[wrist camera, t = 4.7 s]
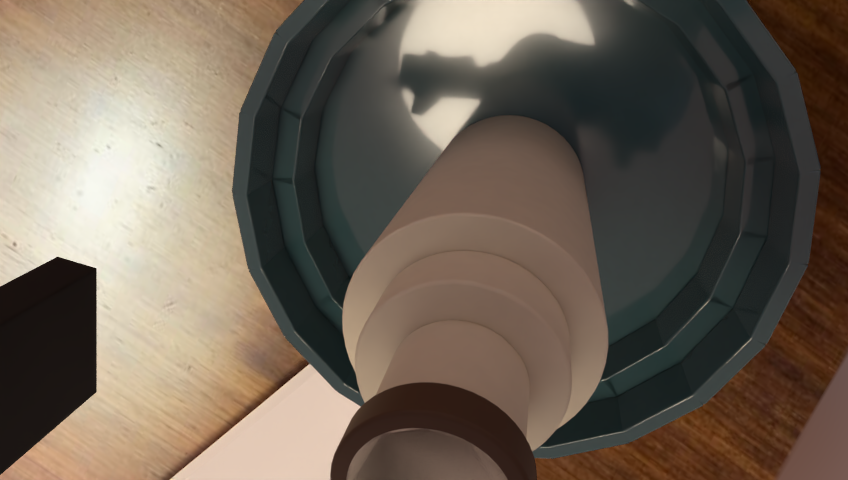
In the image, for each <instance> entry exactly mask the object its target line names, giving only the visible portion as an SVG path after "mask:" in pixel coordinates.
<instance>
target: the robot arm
mask: <svg viewBox="0 0 848 480" xmlns="http://www.w3.org/2000/svg"><path fill="white" fill-rule="evenodd" d="M95 393H96V268H93V267H90V266H86V265H83V264H80V263H76V262H73V261H70V260H66V259H63V258H60V257H56V258H54V259H53V260H51V261H49V262H47V263H45V264H43V265H41V266H39V267H37V268H35V269H33V270H31V271H29V272H28V273H26V274H24V275H22V276H20V277H18V278H16V279H14V280H12V281H10V282H8V283H6V284H4V285H2V286H1V287H0V475H1V474H2V473H3V472H4V471H5V470H6V469H8V468H9V467H10V466H11V465H12V464H13V463H14V462H16V461H17V460H18V459H19V458H20V457H21V456H23V455H24V454H25V453H26V452H27V451H28V450H30V449H31V448H32V447H33V446H34V445H35V444H37V443H38V442H39V441H40V440H41V439H42V438H44V437H45V436H46V435H47V434H48V433H49V432H50V431H52V430H53V429H54V428H55V427H56V426H57V425H59V424H60V423H61V422H62V421H63V420H64V419H66V418H67V417H68V416H69V415H70V414H71V413H73V412H74V411H75V410H76V409H77V408H78V407H79V406H81V405H82V404H83V403H84V402H85V401H86V400H88V399H89V398H90V397H91V396H92V395H93V394H95Z"/></svg>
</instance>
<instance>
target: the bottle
mask: <svg viewBox="0 0 848 480" xmlns="http://www.w3.org/2000/svg"><path fill="white" fill-rule="evenodd" d="M342 324H343V335H344V341H345V347H346V350H347V353H348V356H349V359H350V362H351V364H352V366H353V368H354V371H355V373H356V378H357V384H358V387H359V390H360V393H361V396H362V398H363V400H364V402H365V403H364V404H363V405H362V406H361V407H360V408H359V409H358V410H357V412H356V413H355V414H354V416H353V417H352V419H351V421H350V423H349V425H348V427H347V429H346V431H345V433H344V435H343V437H342V439H341V441H340V443H339V445H338V447H337V449H336V451H335V453H334V457H333V460H332V463H331V472H330V479H331V480H537V474H536V464H535V459H534V455H533V453H532V451H534V450H536V449H537V448H538V447H539V446H541V445H542V444H543V443H544V442H546V440H547V439H548V438H549V437H550V436H551V435H552V434H553V433H554V432H555V430H556V429H558V428H559V427H561V426H563V425H564V424H565V423H566V422H568V421H569V420H570V419H571V418H573V417H574V416H575V415H576V414H577V413H578V412H579V411H580V410H581V409H582V408H583V406H584V405H585V404H586V403H587V401H588V400H589V399H590V397H591V396H592V394H593V393H594V391H595V389H596V387H597V385H598V383H599V381H600V379H601V377H602V374H603V371H604V367H605V364H606V359H607V352H608V327H607V321H606V314H605V308H604V302H603V295H602V289H601V283H600V276H599V270H598V264H597V257H596V251H595V245H594V239H593V232H592V226H591V220H590V213H589V207H588V201H587V194H586V188H585V182H584V176H583V171H582V167H581V164H580V161H579V159H578V157H577V155H576V153H575V152H574V150H573V149H572V147H571V145H570V144H569V143H568V142H567V141H566V140H565V139H564V137H562V136H561V135H560V134H559V133H558V132H557V131H555V130H554V129H552V128H551V127H549V126H548V125H546V124H544V123H542V122H540V121H537V120H534V119H531V118H528V117H523V116H515V115H503V116H495V117H490V118H486V119H484V120H481V121H478V122H476V123H474V124H472V125H470V126H469V127H467V128H466V129H464V130H463V131H461V132H460V133H459V134H458V135H457V136H456V137H455V138H454V139H453V140H452V141H451V142H450V143H449V145H448V146H447V147H446V149H445V150H444V151H443V153H442V154H441V155H440V157H439V158H438V159H437V161H436V162H435V163H434V165H433V166H432V167H431V169H430V170H429V171H428V173H427V174H426V175H425V177H424V178H423V179H422V181H421V182H420V183H419V185H418V186H417V187H416V189H415V190H414V191H413V193H412V194H411V195H410V197H409V198H408V199H407V201H406V202H405V203H404V204H403V206H402V207H401V208H400V210H399V211H398V212H397V214H396V215H395V216H394V218H393V219H392V220H391V222H390V223H389V224H388V226H387V227H386V228H385V230H384V231H383V232H382V234H381V235H380V236H379V238H378V239H377V240H376V242H375V243H374V244H373V246H372V247H371V248H370V250H369V251H368V252H367V254H366V255H365V256H364V258H363V259H362V261H361V262H360V264H359V265H358V267H357V269H356V270H355V272H354V273H353V276H352V278H351V280H350V283H349V285H348V288H347V291H346V295H345V299H344V305H343V314H342Z"/></svg>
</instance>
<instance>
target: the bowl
mask: <svg viewBox="0 0 848 480" xmlns="http://www.w3.org/2000/svg"><path fill="white" fill-rule="evenodd" d="M503 115H515V116H523V117H528V118H531V119H534V120H537V121H540V122H542V123H544V124H546V125H548V126H549V127H551V128H552V129H554V130H555V131H557V132H558V133H559V134H560V135H561V136H562V137H564V139H565V140H566V141H567V142H568V143H569V144H570V145H571V147H572V149H573V150H574V152H575V153H576V155H577V157H578V159H579V161H580V164H581V167H582V171H583V176H584V182H585V188H586V194H587V201H588V207H589V213H590V220H591V226H592V232H593V239H594V245H595V251H596V257H597V264H598V270H599V276H600V283H601V289H602V295H603V302H604V308H605V314H606V321H607V327H608V352H607V359H606V364H605V367H604V371H603V374H602V377H601V379H600V381H599V383H598V385H597V387H596V389H595V391H594V393H593V394H592V396H591V397H590V399H589V400H588V401H587V403H586V404H585V405H584V406H583V408H582V409H581V410H580V411H579V412H578V413H577V414H576V415H575V416H574V417H573V418H571V419H570V420H569V421H568V422H566V423H565V424H564V425H563V426H561V427H559V428H558V429H556V430H555V432H554V433H553V434H552V435H551V436H550V437H549V438H548V439H547V440H546V442H544V443H543V444H542V445H541V446H539V447H538V448H537V449H536V450H534V451H532V453H533V455H534V458H547V459H550V458H551V459H554V458H558V457H563V456H568V455H573V454H578V453H583V452H588V451H593V450H598V449H603V448H608V447H613V446H618V445H623V444H628V443H630V442H632V441H634V440H636V439H638V438H640V437H642V436H644V435H646V434H648V433H650V432H652V431H654V430H656V429H658V428H660V427H662V426H664V425H666V424H668V423H670V422H672V421H674V420H676V419H677V418H679V417H681V416H683V415H685V414H687V413H689V412H691V411H693V410H695V409H697V408H699V407H701V406H703V404H706V403H707V402H708V401H709V400H710V399H711V398H712V397H713V396H714V395H715V394H716V393H717V392H718V391H719V390H720V389H721V388H722V387H723V386H724V385H725V384H726V383H727V382H728V381H729V380H731V379H732V378H733V377H734V376H735V375H736V374H737V373H738V372H739V371H740V370H741V369H742V368H743V367H744V366H745V365H746V364H747V363H748V362H749V361H750V360H751V359H752V358H753V357H754V356H755V355H756V354H758V353H759V352H760V351H761V350H762V349H763V348H764V347H765V345H766V344H767V343H768V341H769V339H770V337H771V335H772V333H773V331H774V330H775V328H776V326H777V324H778V322H779V320H780V318H781V316H782V314H783V312H784V310H785V308H786V307H787V305H788V303H789V301H790V299H791V297H792V295H793V293H794V291H795V289H796V287H797V286H798V284H799V282H800V280H801V278H802V276H803V274H804V272H805V270H806V268H807V266H808V263H809V257H810V250H811V242H812V234H813V227H814V219H815V212H816V204H817V196H818V189H819V181H820V173H821V171H820V169H821V166H820V162H819V158H818V154H817V150H816V146H815V142H814V138H813V134H812V130H811V126H810V122H809V117H808V113H807V109H806V105H805V101H804V97H803V93H802V89H801V85H800V81H799V77H798V73H797V72H796V69H795V68H794V66H793V65H792V63H791V62H790V61H789V59H788V58H787V56H786V55H785V54H784V52H783V51H782V49H781V48H780V47H779V45H778V44H777V42H776V41H775V40H774V38H773V37H772V35H771V34H770V33H769V31H768V30H767V28H766V27H765V25H764V24H763V23H762V21H761V20H760V18H759V17H758V16H757V14H756V13H755V11H754V10H753V9H752V7H751V6H750V4H749V3H748V2H747V0H303V2H302V3H301V4H300V5H299V6H298V7H297V8H296V9H295V10H294V11H293V12H292V13H291V15H290V16H289V17H288V18H287V19H286V20H285V21H284V22H283V23H282V24H281V25H280V26H279V28H278V29H277V30H276V32H275V33H274V35H273V37H272V39H271V42H270V44H269V46H268V48H267V51H266V53H265V55H264V58H263V60H262V62H261V64H260V67H259V69H258V71H257V74H256V76H255V78H254V80H253V83H252V85H251V87H250V89H249V92H248V94H247V96H246V99H245V101H244V103H243V105H242V108H241V112H240V113H239V124H238V135H237V145H236V156H235V167H234V177H233V188H232V193H233V200H234V204H235V209H236V214H237V218H238V223H239V228H240V233H241V237H242V242H243V247H244V252H245V256H246V261H247V266H248V269H249V272H250V274H251V276H252V277H253V279H254V281H255V283H256V285H257V287H258V289H259V291H260V292H261V294H262V296H263V298H264V300H265V302H266V304H267V305H268V307H269V309H270V311H271V313H272V315H273V317H274V318H275V320H276V322H277V324H278V326H279V328H280V330H281V332H282V333H283V335H284V336H285V338H286V339H287V340H288V341H289V342H290V343H291V344H292V345H293V347H294V348H295V349H296V350H297V351H298V352H299V353H300V354H301V355H302V356H303V357H304V358H305V359H306V360H307V361H308V362H309V363H310V364H311V365H312V366H313V368H314V369H315V370H316V371H317V372H318V373H319V374H320V375H321V376H322V377H323V378H324V379H325V380H326V381H327V382H328V383H329V384H330V385H331V386H332V388H333V389H334V390H336V391H337V392H338V393H339V394H341V395H343V396H344V397H346V398H348V399H349V400H351V401H352V402H354V403H356V404H357V405H359V406H360V407H361V406H362V405H363V404H364V403H365V402H364V400H363V398H362V396H361V393H360V390H359V387H358V384H357V378H356V373H355V371H354V368H353V366H352V364H351V362H350V359H349V356H348V353H347V350H346V347H345V341H344V335H343V324H342V314H343V305H344V299H345V295H346V291H347V288H348V285H349V283H350V280H351V278H352V276H353V273H354V272H355V270H356V269H357V267H358V265H359V264H360V262H361V261H362V259H363V258H364V256H365V255H366V254H367V252H368V251H369V250H370V248H371V247H372V246H373V244H374V243H375V242H376V240H377V239H378V238H379V236H380V235H381V234H382V232H383V231H384V230H385V228H386V227H387V226H388V224H389V223H390V222H391V220H392V219H393V218H394V216H395V215H396V214H397V212H398V211H399V210H400V208H401V207H402V206H403V204H404V203H405V202H406V201H407V199H408V198H409V197H410V195H411V194H412V193H413V191H414V190H415V189H416V187H417V186H418V185H419V183H420V182H421V181H422V179H423V178H424V177H425V175H426V174H427V173H428V171H429V170H430V169H431V167H432V166H433V165H434V163H435V162H436V161H437V159H438V158H439V157H440V155H441V154H442V153H443V151H444V150H445V149H446V147H447V146H448V145H449V143H450V142H451V141H452V140H453V139H454V138H455V137H456V136H457V135H458V134H459V133H460V132H461V131H463V130H464V129H466V128H467V127H469V126H470V125H472V124H474V123H476V122H478V121H481V120H484V119H486V118H490V117H495V116H503Z"/></svg>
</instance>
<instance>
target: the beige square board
mask: <svg viewBox="0 0 848 480" xmlns="http://www.w3.org/2000/svg"><path fill="white" fill-rule="evenodd" d="M359 408H360V406H359V405H357V404H356V403H354V402H352V401H351V400H349V399H348V398H346V397H344V396H343V395H341V394H339V393H338V392H337V391H336V390H334V389H333V388H332V386H331V385H330V384H329V383H328V382H327V381H326V380H325V379H324V378H323V377H322V376H321V375H320V374H319V373H318V372H317V371H316V370H315V369H314V368H313V366H312V365H311V364H309V365H308V366H306V367H305V368H304V369H303V370H302V371H300V372H299V373H298V374H297V375H296V376H294V377H293V378H292V379H291V380H289V381H288V382H287V383H286V384H285V385H283V386H282V387H281V388H280V389H279V390H277V391H276V392H275V393H274V394H273V395H271V396H270V397H269V398H268V399H267V400H265V401H264V402H263V403H262V404H260V405H259V406H258V407H257V408H256V409H254V410H253V411H252V412H251V413H250V414H248V415H247V416H246V417H245V418H244V419H242V420H241V421H240V422H239V423H238V424H236V425H235V426H234V427H233V428H231V429H230V430H229V431H228V432H227V433H225V434H224V435H223V436H222V437H221V438H219V439H218V440H217V441H216V442H215V443H213V444H212V445H211V446H210V447H209V448H207V449H206V450H205V451H204V452H202V453H201V454H200V455H199V456H198V457H196V458H195V459H194V460H193V461H192V462H190V463H189V464H188V465H187V466H186V467H184V468H183V469H182V470H181V471H180V472H178V473H177V474H176V475H175V476H173V477H172V478H171V479H170V480H331V479H330V472H331V463H332V460H333V457H334V453H335V451H336V449H337V447H338V445H339V443H340V441H341V439H342V437H343V435H344V433H345V431H346V429H347V427H348V425H349V423H350V421H351V419H352V417H353V416H354V414H355V413H356V412H357V410H358V409H359Z"/></svg>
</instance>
